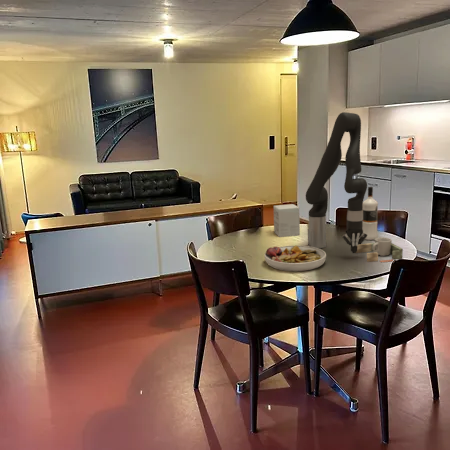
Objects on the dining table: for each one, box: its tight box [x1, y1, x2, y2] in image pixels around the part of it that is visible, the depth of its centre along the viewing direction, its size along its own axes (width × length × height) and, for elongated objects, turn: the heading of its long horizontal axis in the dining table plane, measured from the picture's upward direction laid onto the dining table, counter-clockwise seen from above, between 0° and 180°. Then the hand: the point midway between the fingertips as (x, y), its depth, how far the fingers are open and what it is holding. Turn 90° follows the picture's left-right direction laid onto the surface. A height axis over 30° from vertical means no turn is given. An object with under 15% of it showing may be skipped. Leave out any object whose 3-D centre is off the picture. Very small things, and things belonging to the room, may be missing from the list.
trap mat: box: [379, 258, 394, 263], centre depth 211 cm, size 7×2×1 cm, turn 97°
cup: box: [372, 237, 393, 257], centre depth 220 cm, size 11×8×8 cm
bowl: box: [263, 244, 327, 272], centre depth 216 cm, size 30×30×8 cm
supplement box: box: [273, 203, 301, 238], centre depth 271 cm, size 13×13×18 cm
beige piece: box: [355, 242, 403, 263], centre depth 220 cm, size 18×17×5 cm
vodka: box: [362, 186, 379, 241], centre depth 249 cm, size 9×9×30 cm
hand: (353, 252), depth 219 cm, fingers closed
